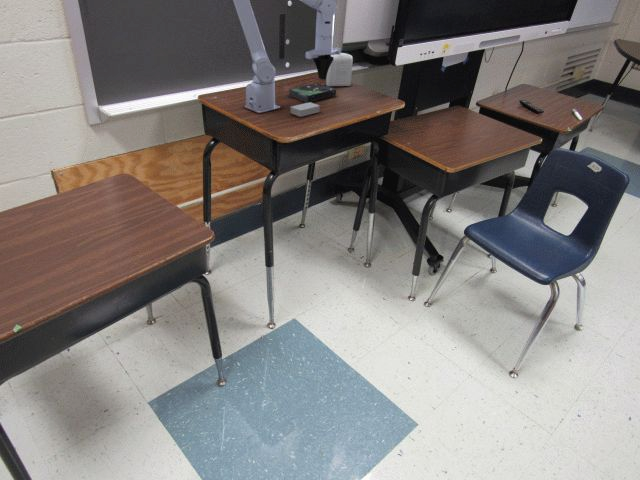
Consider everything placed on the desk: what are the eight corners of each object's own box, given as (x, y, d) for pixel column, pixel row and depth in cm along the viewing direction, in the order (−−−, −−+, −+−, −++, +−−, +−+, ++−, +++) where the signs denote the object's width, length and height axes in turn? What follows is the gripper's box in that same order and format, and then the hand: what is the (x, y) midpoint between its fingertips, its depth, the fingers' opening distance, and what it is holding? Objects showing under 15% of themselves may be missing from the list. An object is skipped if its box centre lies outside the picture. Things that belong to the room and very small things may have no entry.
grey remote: (319, 112, 153) (300, 117, 147) (309, 109, 156) (290, 113, 150) (320, 105, 152) (300, 110, 146) (310, 102, 154) (290, 106, 149)
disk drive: (316, 90, 176) (288, 96, 167) (317, 82, 174) (288, 88, 165) (336, 96, 170) (307, 103, 161) (336, 89, 168) (308, 95, 159)
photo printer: (348, 83, 186) (350, 51, 179) (352, 86, 182) (354, 54, 176) (324, 84, 183) (326, 52, 176) (328, 87, 179) (330, 54, 172)
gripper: (317, 39, 140) (315, 84, 147) (348, 35, 149) (345, 78, 156) (301, 36, 144) (300, 79, 152) (333, 32, 153) (330, 73, 160)
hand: (322, 78), depth 154 cm, fingers closed
